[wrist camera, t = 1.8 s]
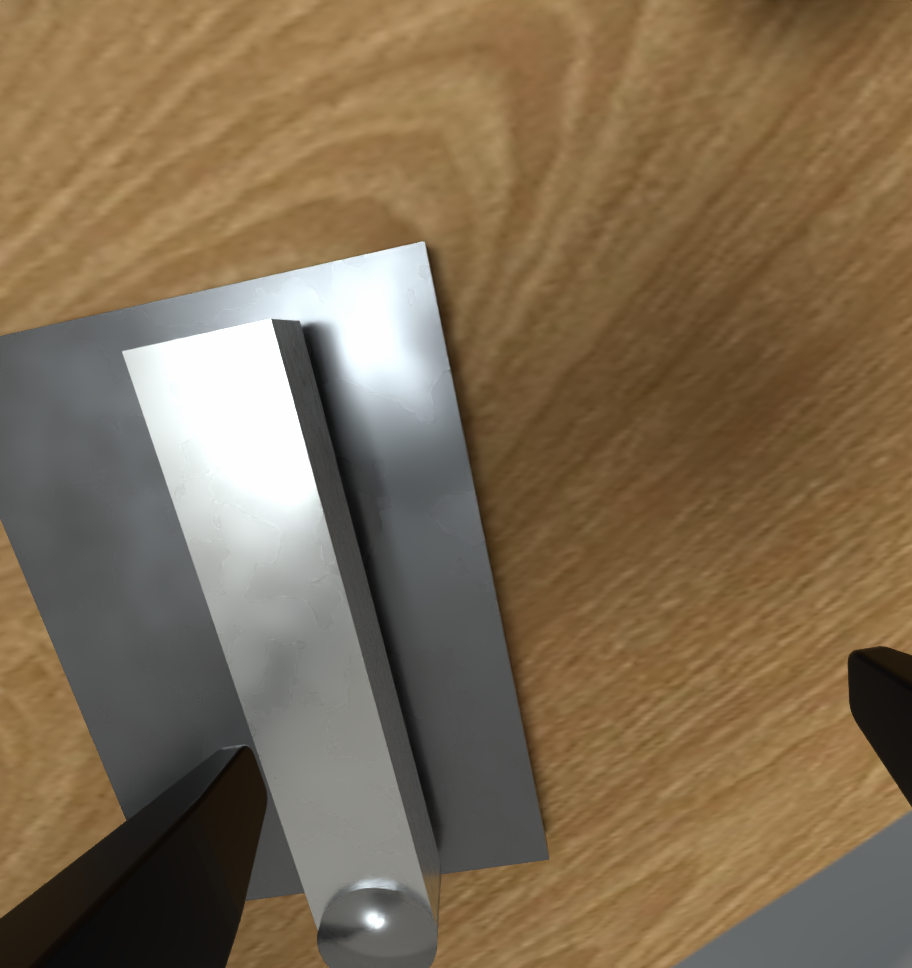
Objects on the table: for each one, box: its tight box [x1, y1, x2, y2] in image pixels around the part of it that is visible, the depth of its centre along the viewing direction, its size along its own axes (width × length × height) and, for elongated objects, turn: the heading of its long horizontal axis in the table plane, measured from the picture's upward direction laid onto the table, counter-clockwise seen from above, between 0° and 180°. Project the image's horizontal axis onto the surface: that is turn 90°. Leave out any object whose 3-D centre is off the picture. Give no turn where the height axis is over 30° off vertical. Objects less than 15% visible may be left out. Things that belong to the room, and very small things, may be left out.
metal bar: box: [122, 319, 441, 968], centre depth 18 cm, size 22×4×3 cm, turn 12°
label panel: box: [0, 241, 549, 901], centre depth 21 cm, size 23×16×1 cm
